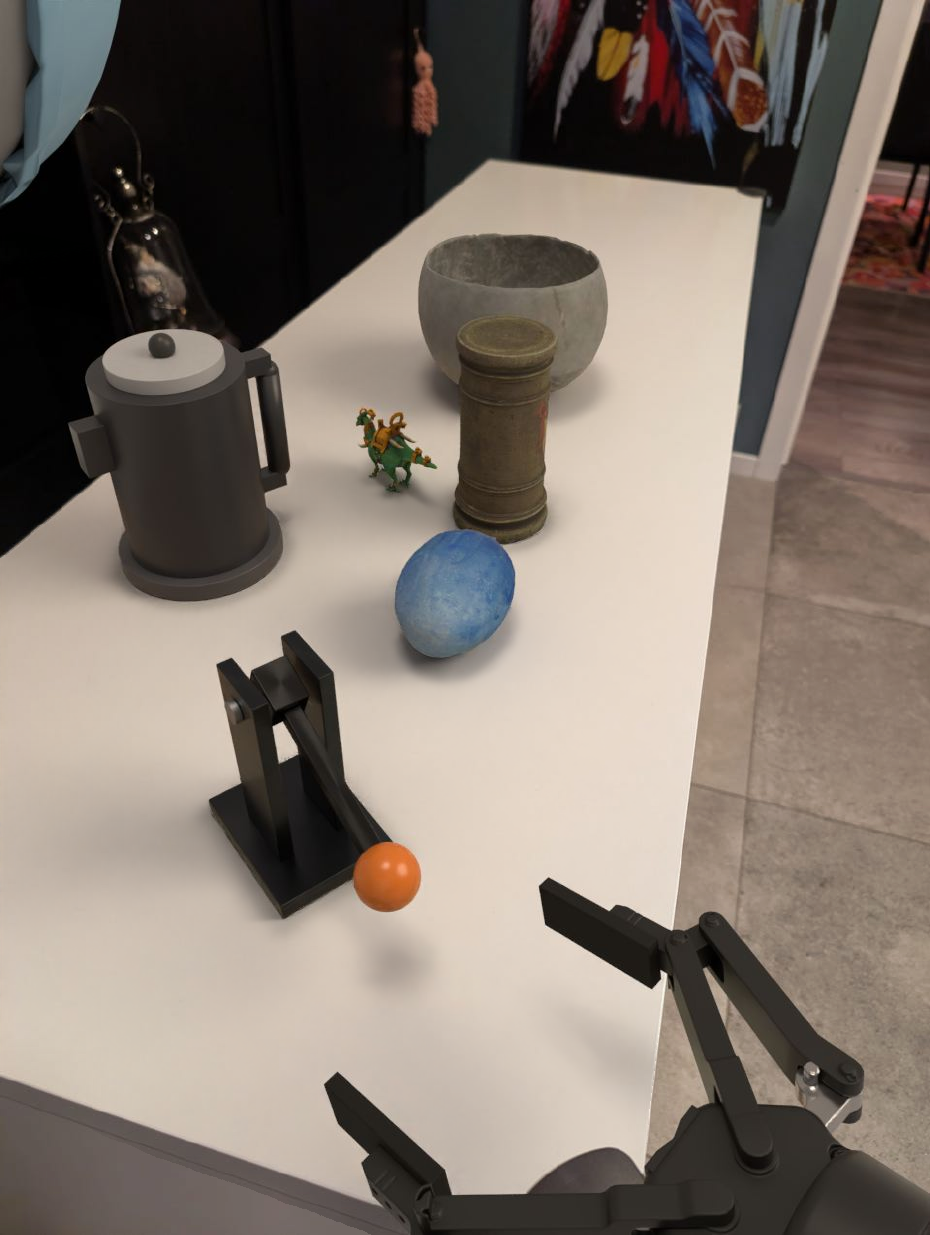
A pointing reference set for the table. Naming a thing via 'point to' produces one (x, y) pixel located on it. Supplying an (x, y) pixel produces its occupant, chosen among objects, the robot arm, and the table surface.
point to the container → (503, 425)
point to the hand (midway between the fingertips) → (450, 990)
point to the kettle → (187, 460)
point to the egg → (454, 592)
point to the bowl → (514, 295)
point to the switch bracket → (285, 789)
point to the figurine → (390, 447)
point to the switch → (340, 795)
